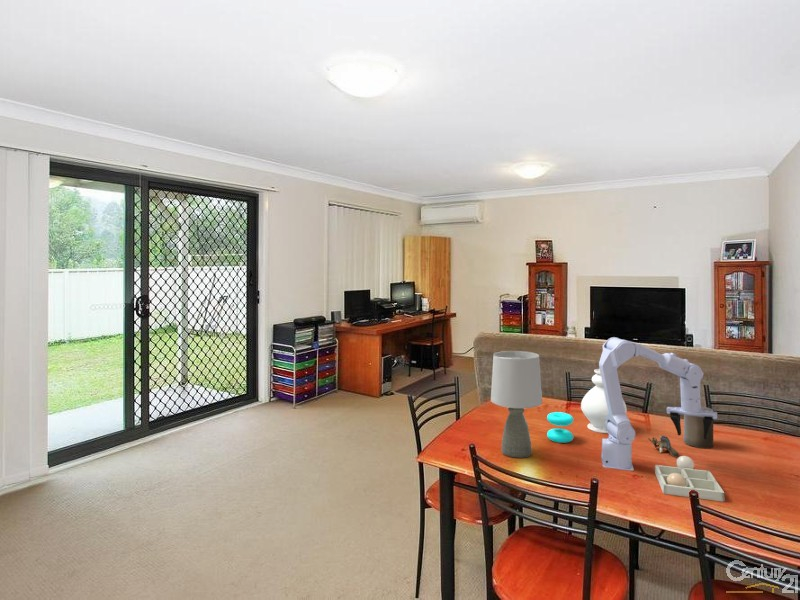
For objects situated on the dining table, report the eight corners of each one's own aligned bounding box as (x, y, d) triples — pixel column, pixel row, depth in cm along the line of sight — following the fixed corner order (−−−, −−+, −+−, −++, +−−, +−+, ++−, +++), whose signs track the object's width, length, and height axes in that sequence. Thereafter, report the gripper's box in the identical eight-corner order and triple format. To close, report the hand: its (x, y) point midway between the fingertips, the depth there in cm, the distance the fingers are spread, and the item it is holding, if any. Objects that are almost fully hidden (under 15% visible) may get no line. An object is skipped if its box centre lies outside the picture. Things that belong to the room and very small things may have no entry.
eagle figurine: (645, 448, 171) (668, 451, 163) (649, 430, 174) (672, 432, 166) (657, 456, 174) (681, 460, 166) (661, 438, 176) (685, 441, 168)
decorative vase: (634, 435, 187) (635, 374, 186) (590, 435, 188) (590, 375, 186) (615, 421, 205) (615, 365, 204) (574, 421, 206) (575, 366, 204)
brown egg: (668, 492, 139) (668, 475, 138) (665, 484, 143) (665, 469, 143) (687, 494, 137) (687, 478, 137) (683, 487, 142) (684, 471, 141)
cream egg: (678, 473, 152) (678, 458, 152) (674, 466, 157) (675, 452, 157) (695, 475, 151) (695, 460, 150) (691, 468, 155) (692, 454, 155)
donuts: (555, 409, 191) (578, 415, 183) (555, 433, 192) (578, 439, 184) (542, 414, 185) (564, 420, 177) (542, 439, 185) (564, 446, 178)
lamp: (548, 449, 175) (548, 352, 172) (532, 466, 159) (532, 361, 157) (502, 439, 185) (501, 349, 183) (483, 455, 170) (482, 356, 168)
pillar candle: (718, 449, 172) (718, 409, 171) (689, 447, 174) (689, 408, 173) (706, 440, 181) (707, 402, 180) (679, 438, 183) (679, 401, 182)
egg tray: (663, 494, 138) (663, 485, 138) (654, 473, 152) (655, 464, 152) (724, 503, 132) (724, 492, 132) (709, 480, 147) (709, 470, 147)
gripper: (717, 396, 156) (719, 435, 156) (668, 392, 165) (670, 429, 166) (714, 402, 150) (716, 442, 151) (664, 397, 160) (666, 435, 160)
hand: (692, 436), depth 158 cm, fingers open, 7 cm apart
